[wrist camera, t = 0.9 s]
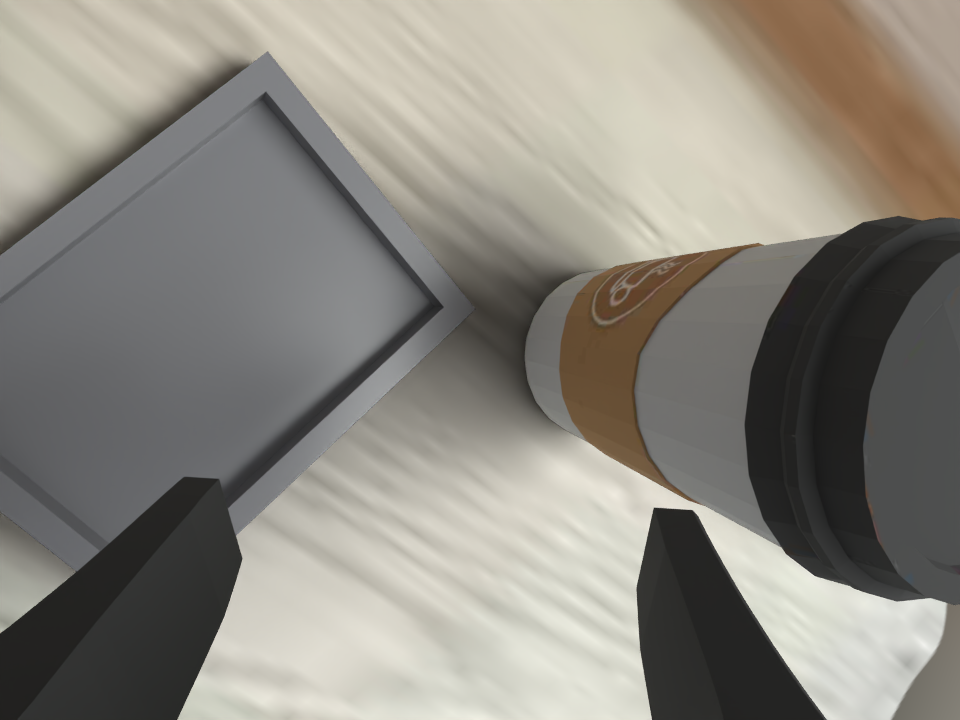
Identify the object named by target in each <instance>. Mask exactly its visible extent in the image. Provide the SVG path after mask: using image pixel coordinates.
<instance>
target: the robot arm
mask: <svg viewBox="0 0 960 720" xmlns="http://www.w3.org/2000/svg"><path fill="white" fill-rule="evenodd" d="M241 562H242V556H241V552H240V549H239V545H238V542H237V539H236V535H235V532H234V528H233V525H232V521H231V518H230V515H229V511H228V508H227V504H226V501H225V497H224V494H223V491H222V487H221V484H220V480H219V479H214V478H199V477H183V478H182V479H181V480H180V481H178V482H177V483H176V484H175V485H174V486H173V487H172V488H170V489H169V490H168V491H167V492H166V493H165V494H164V495H162V496H161V497H160V498H159V499H158V500H157V501H156V502H155V503H154V504H152V505H151V506H150V507H149V508H148V509H147V510H146V511H145V512H144V513H142V514H141V515H140V516H139V517H138V518H137V519H136V520H135V521H134V522H132V523H131V524H130V525H129V526H128V527H127V528H126V529H125V530H124V531H122V532H121V533H120V534H119V535H118V536H117V537H116V538H115V539H114V540H112V541H111V542H110V543H109V544H108V545H107V546H106V547H104V548H103V549H102V550H101V551H100V552H99V553H98V554H96V555H95V556H94V557H93V558H92V559H91V560H89V561H88V562H87V563H86V564H85V565H84V566H83V567H81V568H80V569H79V570H78V571H77V572H76V573H75V574H73V575H72V576H71V577H70V578H69V579H68V580H66V581H65V582H64V583H63V584H62V585H60V586H59V587H58V588H57V589H55V590H54V591H53V592H52V593H50V594H49V595H48V596H47V597H46V598H44V599H43V600H42V601H41V602H39V603H38V604H37V605H36V606H34V607H33V608H32V609H31V610H29V611H28V612H27V613H26V614H25V615H23V616H22V617H21V618H20V619H18V620H17V621H16V622H15V623H13V624H12V625H11V626H10V627H8V628H7V629H6V630H4V631H3V632H2V633H0V720H177V719H178V717H179V715H180V712H181V710H182V708H183V706H184V704H185V702H186V699H187V697H188V695H189V693H190V691H191V689H192V687H193V684H194V682H195V680H196V678H197V676H198V674H199V671H200V669H201V667H202V665H203V663H204V661H205V658H206V656H207V654H208V652H209V649H210V647H211V645H212V643H213V641H214V638H215V636H216V634H217V632H218V630H219V627H220V625H221V623H222V620H223V618H224V616H225V613H226V610H227V607H228V604H229V601H230V598H231V595H232V592H233V588H234V585H235V582H236V579H237V575H238V572H239V569H240V565H241ZM637 606H638V623H639V638H640V651H641V657H642V663H643V669H644V675H645V681H646V687H647V693H648V699H649V704H650V710H651V716H652V720H827V719H826V718H825V717H824V715H823V714H822V713H821V711H820V710H819V709H818V707H817V706H816V705H815V703H814V702H813V701H812V699H811V698H810V697H809V695H808V694H807V692H806V691H805V690H804V688H803V687H802V685H801V684H800V683H799V681H798V680H797V678H796V677H795V676H794V674H793V673H792V671H791V670H790V669H789V667H788V666H787V664H786V663H785V661H784V660H783V658H782V657H781V655H780V654H779V652H778V651H777V650H776V648H775V647H774V645H773V644H772V642H771V641H770V639H769V637H768V636H767V634H766V633H765V631H764V630H763V628H762V626H761V625H760V623H759V622H758V620H757V619H756V617H755V616H754V614H753V612H752V611H751V609H750V608H749V606H748V605H747V603H746V601H745V600H744V598H743V596H742V595H741V593H740V591H739V590H738V588H737V586H736V585H735V583H734V581H733V580H732V578H731V576H730V574H729V573H728V571H727V569H726V568H725V566H724V564H723V562H722V560H721V559H720V557H719V555H718V553H717V551H716V550H715V548H714V546H713V544H712V542H711V540H710V539H709V537H708V535H707V533H706V531H705V529H704V527H703V525H702V523H701V521H700V519H699V517H698V516H697V514H696V513H695V512H694V511H693V510H681V509H666V508H654V510H653V514H652V519H651V523H650V528H649V533H648V537H647V542H646V546H645V551H644V556H643V560H642V565H641V570H640V574H639V579H638V583H637Z"/></svg>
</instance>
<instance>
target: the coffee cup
mask: <svg viewBox="0 0 960 720" xmlns="http://www.w3.org/2000/svg"><path fill="white" fill-rule="evenodd" d="M524 358H525V366H526V373H527V380H528V384H529V386H530V389H531V391H532V393H533V396H534V398H535V401H536V402H537V404H538V405H539V406H540V408H541V409H542V410H543V412H544V413H545V414H546V415H547V417H548V418H549V419H551V420H552V421H554V422H555V423H556V424H558V425H559V426H560V427H562V428H563V429H565V430H567V431H568V432H570V433H572V434H574V435H576V436H578V437H579V438H581V439H583V440H585V441H587V442H589V443H590V444H592V445H593V446H594V447H596V448H597V449H599V450H600V451H601V452H603V453H604V454H605V455H607V456H609V457H611V458H613V459H614V460H616V461H618V462H620V463H622V464H623V465H625V466H627V467H629V468H631V469H632V470H634V471H636V472H638V473H640V474H641V475H643V476H645V477H647V478H649V479H650V480H652V481H654V482H656V483H658V484H659V485H661V486H663V487H665V488H667V489H668V490H670V491H672V492H674V493H676V494H677V495H679V496H681V497H683V498H685V499H686V500H689V501H692V502H695V503H698V504H701V505H704V506H706V507H708V508H710V509H712V510H714V511H715V512H717V513H719V514H721V515H723V516H725V517H726V518H728V519H730V520H732V521H734V522H736V523H737V524H739V525H741V526H743V527H745V528H747V529H748V530H750V531H752V532H754V533H756V534H758V535H760V536H761V537H763V538H765V539H767V540H769V541H771V542H772V543H774V544H776V545H778V546H780V547H782V549H783V550H784V552H785V553H786V554H787V555H788V556H789V557H791V558H792V559H793V560H795V561H796V562H797V563H799V564H800V565H801V566H803V567H804V568H805V569H807V570H808V571H809V572H810V573H812V574H813V575H814V576H817V577H820V578H824V579H827V580H831V581H834V582H838V583H841V584H844V585H848V586H851V587H852V588H854V589H857V590H860V591H863V592H866V593H869V594H873V595H876V596H880V597H883V598H887V599H890V600H894V601H906V600H916V599H925V598H933V599H936V600H939V601H943V602H946V603H950V604H953V605H958V604H960V219H956V218H935V219H929V220H924V221H921V220H916V219H911V218H906V217H901V216H896V217H891V218H885V219H880V220H874V221H868V222H863V223H861V224H859V225H857V226H856V227H854V228H852V229H850V230H849V231H847V232H845V233H843V234H837V235H831V236H824V237H817V238H811V239H804V240H797V241H791V242H784V243H777V244H771V245H762V244H759V243H756V244H750V245H744V246H737V247H731V248H725V249H718V250H712V251H706V252H699V253H693V254H687V255H680V256H674V257H668V258H661V259H655V260H648V261H642V262H636V263H631V264H625V265H619V266H615V267H613V268H610V269H603V270H597V271H592V272H587V273H581V274H579V275H577V276H575V277H573V278H571V279H569V280H567V281H565V282H563V283H562V284H561V285H560V286H558V287H557V288H556V289H555V290H554V291H553V292H552V293H551V294H550V295H548V296H547V297H546V299H545V300H544V302H543V303H542V305H541V306H540V308H539V309H538V311H537V313H536V314H535V316H534V318H533V320H532V323H531V326H530V329H529V332H528V335H527V337H526V347H525V357H524Z"/></svg>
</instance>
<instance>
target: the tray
mask: <svg viewBox="0 0 960 720" xmlns="http://www.w3.org/2000/svg"><path fill="white" fill-rule="evenodd" d="M474 310H475V308H474V307H473V305H472V304H471V303H470V302H469V300H468V299H467V298H466V297H465V295H464V294H463V293H462V292H461V290H460V289H459V288H458V287H457V285H456V284H455V283H454V282H453V280H452V279H451V278H450V277H449V276H448V274H447V273H446V272H445V271H444V269H443V268H442V267H441V266H440V264H439V263H438V262H437V261H436V259H435V258H434V257H433V256H432V254H431V253H430V252H429V251H428V249H427V248H426V247H425V246H424V245H423V243H422V242H421V241H420V240H419V238H418V237H417V236H416V235H415V233H414V232H413V231H412V230H411V228H410V227H409V226H408V225H407V223H406V222H405V221H404V220H403V218H402V217H401V216H400V215H399V214H398V212H397V211H396V210H395V209H394V207H393V206H392V205H391V204H390V202H389V201H388V200H387V199H386V197H385V196H384V195H383V194H382V192H381V191H380V190H379V189H378V187H377V186H376V185H375V184H374V183H373V181H372V180H371V179H370V178H369V176H368V175H367V174H366V173H365V171H364V170H363V169H362V168H361V166H360V165H359V164H358V163H357V161H356V160H355V159H354V158H353V156H352V155H351V154H350V153H349V152H348V150H347V149H346V148H345V147H344V145H343V144H342V143H341V142H340V140H339V139H338V138H337V137H336V135H335V134H334V133H333V132H332V130H331V129H330V128H329V127H328V126H327V124H326V123H325V122H324V121H323V119H322V118H321V117H320V116H319V114H318V113H317V112H316V111H315V109H314V108H313V107H312V106H311V104H310V103H309V102H308V101H307V99H306V98H305V97H304V96H303V95H302V93H301V92H300V91H299V90H298V88H297V87H296V86H295V85H294V83H293V82H292V81H291V80H290V78H289V77H288V76H287V75H286V73H285V72H284V71H283V70H282V68H281V67H280V66H279V65H278V64H277V62H276V61H275V60H274V59H273V57H272V56H271V55H270V54H269V52H266V53H265V54H264V55H262V56H261V57H260V58H258V59H257V60H256V61H254V62H253V63H252V64H251V65H249V66H248V67H247V68H245V69H244V70H243V71H241V72H240V73H239V74H237V75H236V76H235V77H233V78H232V79H231V80H230V81H228V82H227V83H226V84H224V85H223V86H222V87H220V88H219V89H218V90H216V91H215V92H214V93H213V94H211V95H210V96H209V97H207V98H206V99H205V100H203V101H202V102H201V103H199V104H198V105H197V106H195V107H194V108H193V109H192V110H190V111H189V112H188V113H186V114H185V115H184V116H182V117H181V118H180V119H178V120H177V121H176V122H174V123H173V124H172V125H171V126H169V127H168V128H167V129H165V130H164V131H163V132H161V133H160V134H159V135H157V136H156V137H155V138H153V139H152V140H151V141H150V142H148V143H147V144H146V145H144V146H143V147H142V148H140V149H139V150H138V151H136V152H135V153H134V154H133V155H131V156H130V157H129V158H127V159H126V160H125V161H123V162H122V163H121V164H119V165H118V166H117V167H115V168H114V169H113V170H112V171H110V172H109V173H108V174H106V175H105V176H104V177H102V178H101V179H100V180H98V181H97V182H96V183H94V184H93V185H92V186H91V187H89V188H88V189H87V190H85V191H84V192H83V193H81V194H80V195H79V196H77V197H76V198H75V199H74V200H72V201H71V202H70V203H68V204H67V205H66V206H64V207H63V208H62V209H60V210H59V211H58V212H56V213H55V214H54V215H53V216H51V217H50V218H49V219H47V220H46V221H45V222H43V223H42V224H41V225H39V226H38V227H37V228H35V229H34V230H33V231H32V232H30V233H29V234H28V235H26V236H25V237H24V238H22V239H21V240H20V241H18V242H17V243H16V244H14V245H13V246H12V247H11V248H9V249H8V250H7V251H5V252H4V253H3V254H1V255H0V512H1V513H3V514H4V515H5V516H6V517H8V518H9V519H10V520H11V521H13V522H14V523H15V524H17V525H18V526H19V527H20V528H22V529H23V530H24V531H25V532H27V533H28V534H29V535H31V536H32V537H33V538H34V539H36V540H37V541H38V542H39V543H41V544H42V545H43V546H45V547H46V548H47V549H48V550H50V551H51V552H52V553H53V554H55V555H56V556H57V557H59V558H60V559H61V560H62V561H64V562H65V563H66V564H67V565H69V566H70V567H71V568H73V569H74V570H75V571H76V572H77V571H78V570H79V569H80V568H81V567H83V566H84V565H85V564H86V563H87V562H88V561H89V560H91V559H92V558H93V557H94V556H95V555H96V554H98V553H99V552H100V551H101V550H102V549H103V548H104V547H106V546H107V545H108V544H109V543H110V542H111V541H112V540H114V539H115V538H116V537H117V536H118V535H119V534H120V533H121V532H122V531H124V530H125V529H126V528H127V527H128V526H129V525H130V524H131V523H132V522H134V521H135V520H136V519H137V518H138V517H139V516H140V515H141V514H142V513H144V512H145V511H146V510H147V509H148V508H149V507H150V506H151V505H152V504H154V503H155V502H156V501H157V500H158V499H159V498H160V497H161V496H162V495H164V494H165V493H166V492H167V491H168V490H169V489H170V488H172V487H173V486H174V485H175V484H176V483H177V482H178V481H180V480H181V479H182V478H183V477H199V478H214V479H219V480H220V484H221V487H222V491H223V494H224V497H225V501H226V504H227V508H228V511H229V515H230V518H231V521H232V525H233V528H234V532H235V535H237V534H238V533H239V532H240V531H241V530H242V529H243V528H245V527H246V526H247V525H248V524H249V523H250V522H251V521H252V520H253V519H254V518H255V517H256V516H257V515H258V514H259V513H260V512H261V511H263V510H264V509H265V508H266V507H267V506H268V505H269V504H270V503H271V502H272V501H273V500H274V499H275V498H276V497H277V496H278V495H279V494H281V493H282V492H283V491H284V490H285V489H286V488H287V487H288V486H289V485H290V484H291V483H292V482H293V481H294V480H295V479H296V478H297V477H298V476H300V475H301V474H302V473H303V472H304V471H305V470H306V469H307V468H308V467H309V466H310V465H311V464H312V463H313V462H314V461H315V460H316V459H318V458H319V457H320V456H321V455H322V454H323V453H324V452H325V451H326V450H327V449H328V448H329V447H330V446H331V445H332V444H333V443H334V442H336V441H337V440H338V439H339V438H340V437H341V436H342V435H343V434H344V433H345V432H346V431H347V430H348V429H349V428H350V427H351V426H352V425H354V424H355V423H356V422H357V421H358V420H359V419H360V418H361V417H362V416H363V415H364V414H365V413H366V412H367V411H368V410H369V409H370V408H372V407H373V406H374V405H375V404H376V403H377V402H378V401H379V400H380V399H381V398H382V397H383V396H384V395H385V394H386V393H387V392H388V391H389V390H391V389H392V388H393V387H394V386H395V385H396V384H397V383H398V382H399V381H400V380H401V379H402V378H403V377H404V376H405V375H406V374H407V373H409V372H410V371H411V370H412V369H413V368H414V367H415V366H416V365H417V364H418V363H419V362H420V361H421V360H422V359H423V358H424V357H425V356H427V355H428V354H429V353H430V352H431V351H432V350H433V349H434V348H435V347H436V346H437V345H438V344H439V343H440V342H441V341H442V340H443V339H445V338H446V337H447V336H448V335H449V334H450V333H451V332H452V331H453V330H454V329H455V328H456V327H457V326H458V325H459V324H460V323H461V322H463V321H464V320H465V319H466V318H467V317H468V316H469V315H470V314H471V313H472V312H473V311H474Z"/></svg>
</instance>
